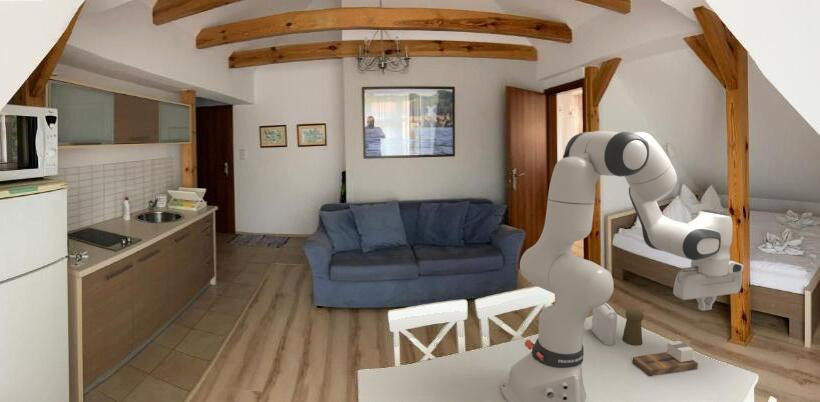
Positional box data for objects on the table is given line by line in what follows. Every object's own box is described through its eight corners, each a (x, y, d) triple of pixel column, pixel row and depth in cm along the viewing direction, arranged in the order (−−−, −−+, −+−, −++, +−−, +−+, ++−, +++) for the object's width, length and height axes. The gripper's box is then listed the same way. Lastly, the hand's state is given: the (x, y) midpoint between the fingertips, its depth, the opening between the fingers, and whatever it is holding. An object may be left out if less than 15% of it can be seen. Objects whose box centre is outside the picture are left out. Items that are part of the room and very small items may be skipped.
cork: (645, 346, 131) (648, 315, 129) (625, 345, 133) (627, 313, 131) (638, 337, 137) (641, 307, 135) (619, 335, 138) (621, 305, 136)
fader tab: (680, 362, 118) (681, 350, 118) (666, 352, 123) (668, 341, 123) (692, 360, 119) (693, 348, 118) (678, 351, 124) (679, 340, 123)
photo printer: (589, 330, 142) (591, 297, 140) (601, 330, 142) (604, 297, 140) (604, 346, 132) (606, 311, 130) (617, 345, 132) (619, 310, 130)
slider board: (649, 376, 116) (650, 369, 115) (632, 362, 123) (632, 356, 122) (697, 369, 119) (698, 362, 118) (677, 356, 126) (678, 350, 125)
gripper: (688, 272, 113) (683, 318, 115) (749, 265, 116) (743, 310, 119) (669, 264, 119) (665, 308, 121) (728, 258, 122) (723, 301, 125)
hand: (704, 309), depth 120 cm, fingers closed
